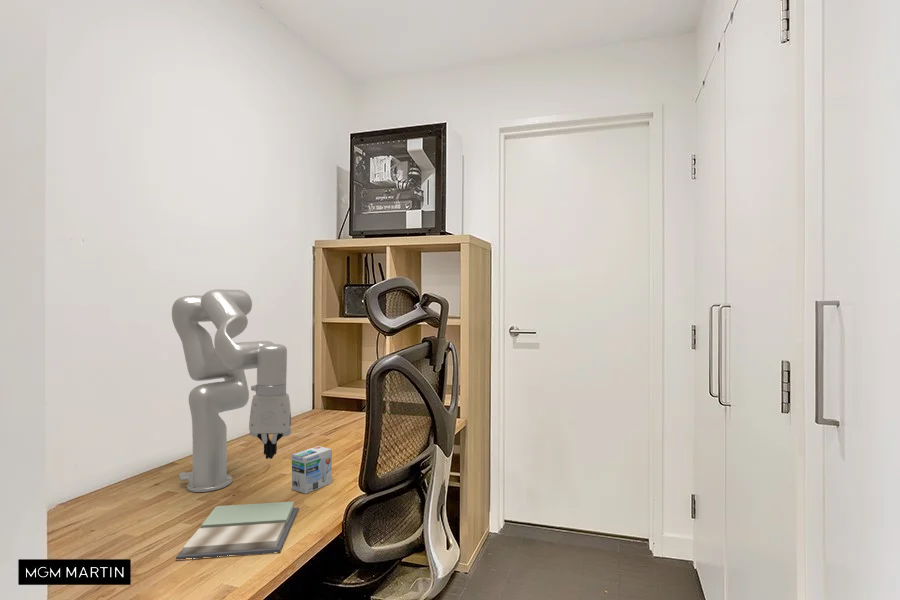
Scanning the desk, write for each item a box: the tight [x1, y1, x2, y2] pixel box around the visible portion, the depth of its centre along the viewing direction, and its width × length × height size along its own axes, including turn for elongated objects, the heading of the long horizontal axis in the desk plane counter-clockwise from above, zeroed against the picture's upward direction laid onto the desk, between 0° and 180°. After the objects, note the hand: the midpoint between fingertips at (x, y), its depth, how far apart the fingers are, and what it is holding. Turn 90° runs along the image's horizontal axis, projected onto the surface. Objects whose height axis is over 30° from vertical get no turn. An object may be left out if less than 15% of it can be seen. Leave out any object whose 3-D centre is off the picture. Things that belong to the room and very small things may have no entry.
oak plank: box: [182, 523, 286, 554], centre depth 110 cm, size 20×10×2 cm, turn 98°
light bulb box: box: [291, 445, 333, 494], centre depth 144 cm, size 11×7×11 cm, turn 148°
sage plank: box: [200, 500, 295, 528], centre depth 120 cm, size 20×10×2 cm, turn 98°
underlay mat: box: [175, 507, 299, 560], centre depth 115 cm, size 22×22×1 cm
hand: (270, 456), depth 127 cm, fingers closed
